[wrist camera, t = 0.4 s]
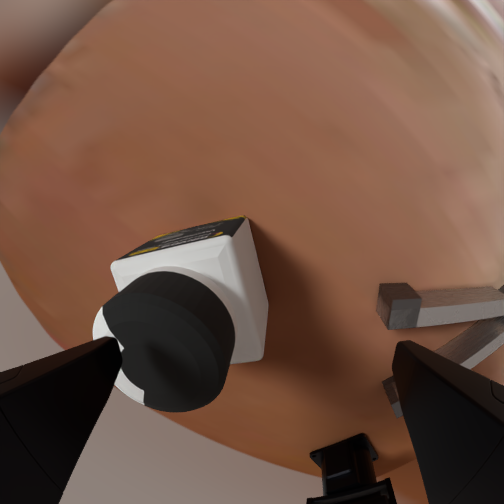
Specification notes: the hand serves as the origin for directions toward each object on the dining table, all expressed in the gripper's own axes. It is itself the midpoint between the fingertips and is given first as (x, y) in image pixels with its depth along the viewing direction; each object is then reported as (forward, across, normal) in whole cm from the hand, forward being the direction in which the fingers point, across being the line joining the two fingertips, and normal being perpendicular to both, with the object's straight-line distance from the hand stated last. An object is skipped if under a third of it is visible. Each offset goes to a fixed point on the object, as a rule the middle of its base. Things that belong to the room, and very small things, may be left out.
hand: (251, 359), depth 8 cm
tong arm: (+13, -14, +4) cm, 20 cm away
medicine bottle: (+13, +4, +2) cm, 14 cm away
